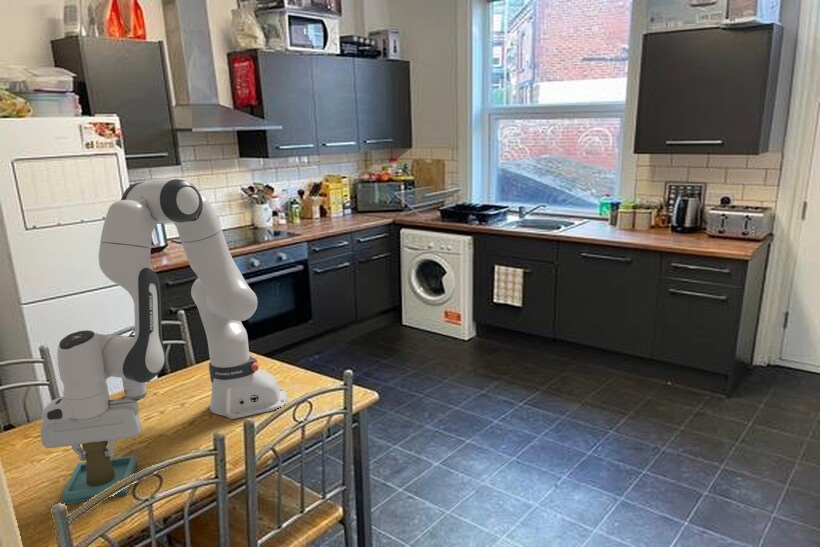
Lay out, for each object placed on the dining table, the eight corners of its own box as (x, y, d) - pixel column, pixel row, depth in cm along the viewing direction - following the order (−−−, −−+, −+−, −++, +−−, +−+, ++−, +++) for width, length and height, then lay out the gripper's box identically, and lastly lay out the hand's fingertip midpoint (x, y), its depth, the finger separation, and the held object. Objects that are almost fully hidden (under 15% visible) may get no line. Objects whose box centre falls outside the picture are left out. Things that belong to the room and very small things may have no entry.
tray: (137, 464, 147) (135, 455, 146) (126, 495, 134) (125, 485, 134) (79, 472, 144) (77, 463, 143) (63, 505, 131) (61, 495, 131)
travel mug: (124, 402, 180) (114, 340, 175) (125, 394, 186) (115, 334, 181) (147, 398, 182) (138, 337, 177) (146, 390, 188) (138, 330, 183)
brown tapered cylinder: (103, 487, 135) (95, 444, 133) (80, 484, 137) (72, 441, 134) (120, 472, 141) (114, 431, 138) (98, 470, 142) (92, 428, 140)
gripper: (139, 391, 139) (147, 444, 143) (42, 402, 134) (53, 457, 138) (134, 402, 133) (142, 457, 137) (33, 415, 128) (44, 471, 132)
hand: (97, 457), depth 137 cm, fingers closed on brown tapered cylinder, 4 cm apart
